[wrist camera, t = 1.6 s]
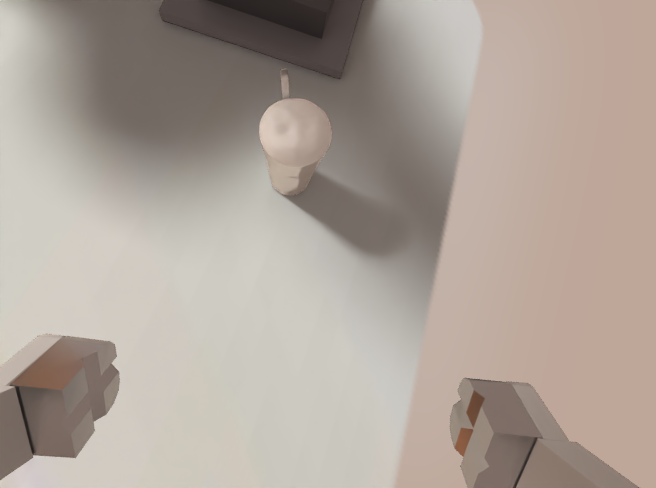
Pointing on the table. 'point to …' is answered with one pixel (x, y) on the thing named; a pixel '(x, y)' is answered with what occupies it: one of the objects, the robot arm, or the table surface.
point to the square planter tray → (275, 27)
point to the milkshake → (293, 140)
